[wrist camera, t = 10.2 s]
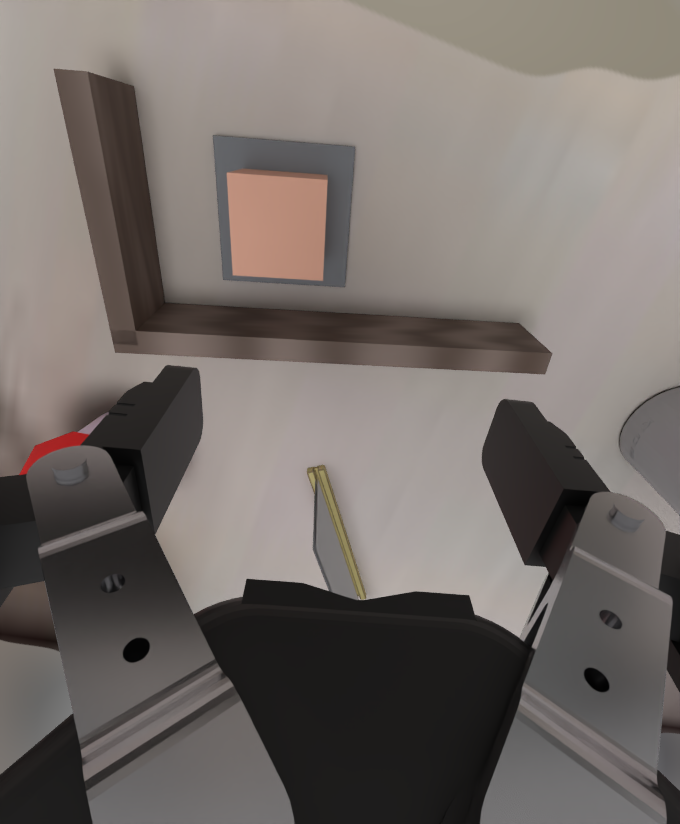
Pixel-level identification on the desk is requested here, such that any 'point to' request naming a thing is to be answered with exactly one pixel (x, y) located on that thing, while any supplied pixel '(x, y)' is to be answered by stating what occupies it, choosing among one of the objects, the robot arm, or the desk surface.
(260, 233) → the block
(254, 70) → the desk surface
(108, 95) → the brown wooden corner barrier
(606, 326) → the desk surface
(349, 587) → the sign holder
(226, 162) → the pad
